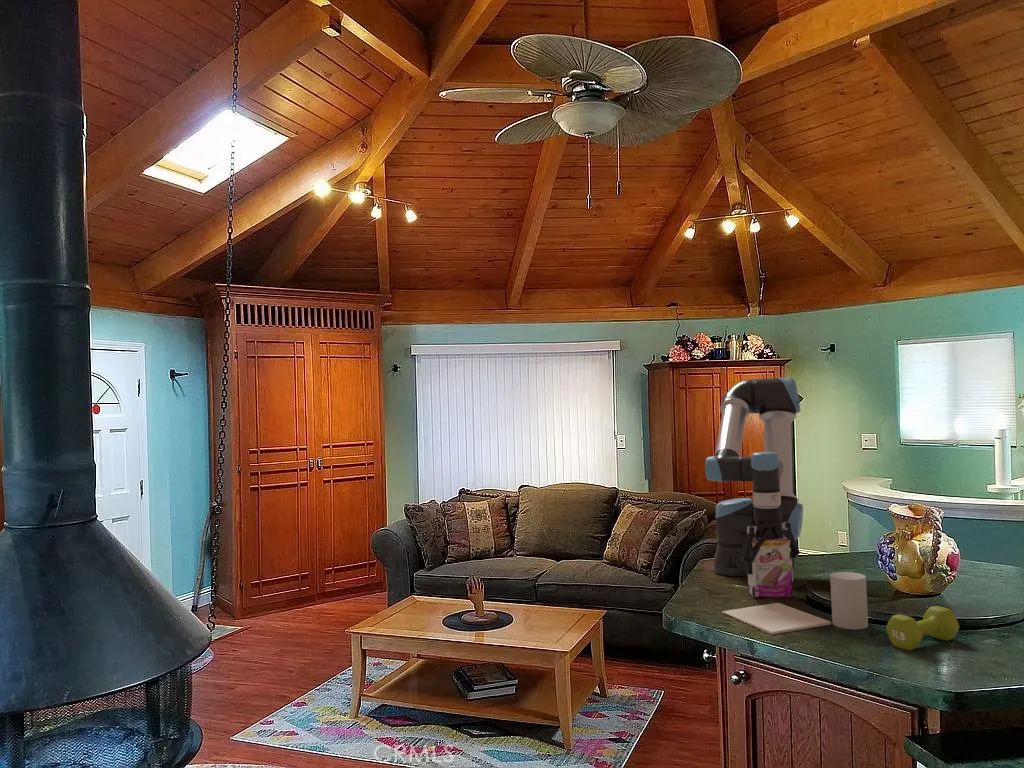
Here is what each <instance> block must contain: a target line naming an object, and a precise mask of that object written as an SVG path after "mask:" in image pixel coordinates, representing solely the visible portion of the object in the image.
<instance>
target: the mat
mask: <svg viewBox="0 0 1024 768" xmlns="http://www.w3.org/2000/svg"><path fill="white" fill-rule="evenodd" d="M721 613H725V614H727V615H729V616H732V617H734V618H736V619H738V620H740V621H739V622H741V621H742V622H741V623H743V622H744V623H743V624H745V623H747V624H746V625H748V624H749V625H748V626H750V625H751V626H750V627H752V626H754V627H753V628H755V627H756V628H755V629H757V628H758V629H757V630H759V629H760V630H759V631H762V632H764V633H766V634H768V635H777V634H782V633H789V632H796V631H800V630H801V631H802V630H805V629H812V628H819V627H825V626H829V625H832V621H830V620H827V619H825V618H821V617H819V616H816V615H813V614H811V613H808V612H805V611H802V610H800V609H797V608H794V607H792V606H789V605H786V604H783V603H780V602H775V603H773V602H772V603H769V604H768V603H766V604H762V605H761V604H760V605H755V606H749V607H743V608H735V609H727V610H723V611H721ZM727 615H726V616H727ZM729 616H728V617H729ZM734 618H733V619H734ZM736 619H735V620H736ZM738 620H737V621H738Z"/></svg>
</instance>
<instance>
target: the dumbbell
mask: <svg viewBox="0 0 1024 768" xmlns="http://www.w3.org/2000/svg"><path fill="white" fill-rule="evenodd" d="M959 629H960V624H959V622H958V619H957V617H956V615H955V614H954V612H953V611H952V610H951V609H950V608H947V607H945V606H944V607H943V606H939V605H934V606H930V607H928V609H927V610H926V611H925V613H924V615H923V617H922V620H921V619H920V620H918V621H916V619H915V618H913V617H911V616H908V615H905V614H895V615H892V616H891V617H890V619H889V620H888V622H887V625H886V628H885V630H886V633H887V635H888V637H889V640H890V642H891V644H892V645H893V646H894V647H895V648H899V649H901V650H904V651H913V650H916V649H917V648H918V646H919V645H920V643H921V641H922V640H923V636H926V635H930V637H932V638H934V639H936V640H941V641H946V642H947V641H951V640H954V638H955V636H956V635H957V633H958V631H959Z"/></svg>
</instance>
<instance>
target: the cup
mask: <svg viewBox="0 0 1024 768" xmlns="http://www.w3.org/2000/svg"><path fill="white" fill-rule="evenodd" d="M829 578H830V601H831V618H832V620H831V624H832V625H833V626H835V627H837V628H840V629H846V630H863V629H866V628H869V616H868V615H869V614H868V613H869V612H868V611H869V610H868V595H867V594H868V593H867V576H866V575H865V574H863V573H858V572H852V571H851V572H849V571H838V572H832V573H830V575H829Z"/></svg>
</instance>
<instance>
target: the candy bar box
mask: <svg viewBox="0 0 1024 768" xmlns="http://www.w3.org/2000/svg"><path fill="white" fill-rule="evenodd" d="M757 542H758V541H757V540H755V539H753V542H752V546H751V549H752V548H753V547H754V546H755V545H756V543H757ZM753 562H754V563H756V585H757V586H755V587H754V586H751V585H748V587H749V595H750V596H751V597H752V598H753V599H779V598H780V599H781V598H783V599H784V598H786V599H790V598H791V597H792V598H793V581H792V570H793V569H792V568H791V541H790V540H789V539H788V538H786V537H784V538H783V539H778V538H776V539H769V540H765V542H764V543H762V545H761V547H760V549H759V551H758V553H757V555H756V557H755V559H754V561H753Z"/></svg>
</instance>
